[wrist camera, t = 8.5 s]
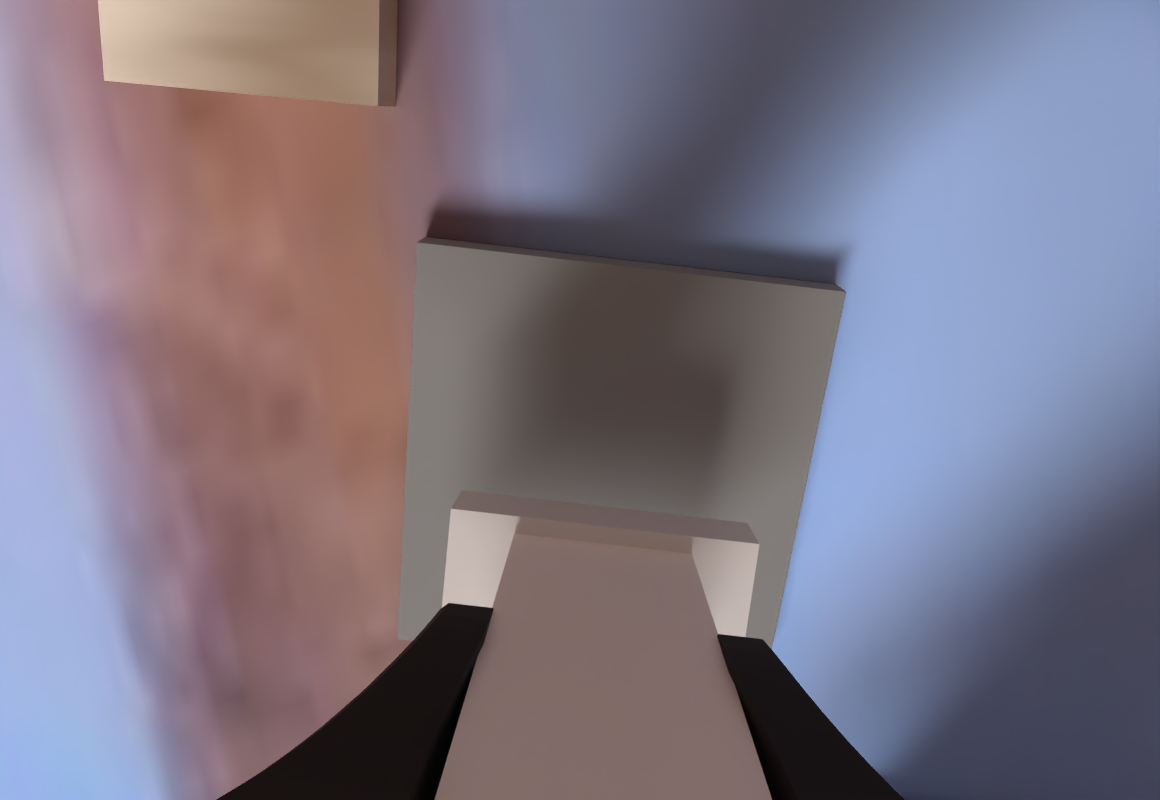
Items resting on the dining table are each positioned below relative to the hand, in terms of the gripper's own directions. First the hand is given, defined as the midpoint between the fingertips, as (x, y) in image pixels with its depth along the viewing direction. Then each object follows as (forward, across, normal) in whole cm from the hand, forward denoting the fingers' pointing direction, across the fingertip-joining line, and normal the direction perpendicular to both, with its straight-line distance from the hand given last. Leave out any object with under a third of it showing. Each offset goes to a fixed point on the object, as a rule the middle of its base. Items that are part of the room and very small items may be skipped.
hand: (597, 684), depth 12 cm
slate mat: (+8, 0, 0) cm, 8 cm away
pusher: (+4, 0, +1) cm, 4 cm away
